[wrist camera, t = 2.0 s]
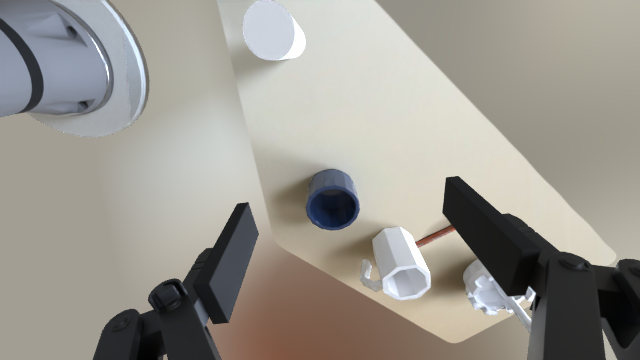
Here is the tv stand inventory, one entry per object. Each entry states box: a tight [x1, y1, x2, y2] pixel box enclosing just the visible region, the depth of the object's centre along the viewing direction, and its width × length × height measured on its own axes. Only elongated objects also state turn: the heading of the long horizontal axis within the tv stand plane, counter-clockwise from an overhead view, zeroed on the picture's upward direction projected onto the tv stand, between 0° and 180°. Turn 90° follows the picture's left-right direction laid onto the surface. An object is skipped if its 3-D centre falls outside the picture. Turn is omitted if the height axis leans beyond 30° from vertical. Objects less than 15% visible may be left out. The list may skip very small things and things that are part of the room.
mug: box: [360, 227, 431, 300], centre depth 46 cm, size 12×9×10 cm
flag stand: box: [463, 259, 536, 333], centre depth 40 cm, size 13×13×30 cm
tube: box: [243, 0, 305, 61], centre depth 27 cm, size 4×4×15 cm
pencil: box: [415, 226, 456, 248], centre depth 48 cm, size 19×1×1 cm, turn 125°
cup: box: [306, 169, 360, 230], centre depth 41 cm, size 8×8×6 cm
